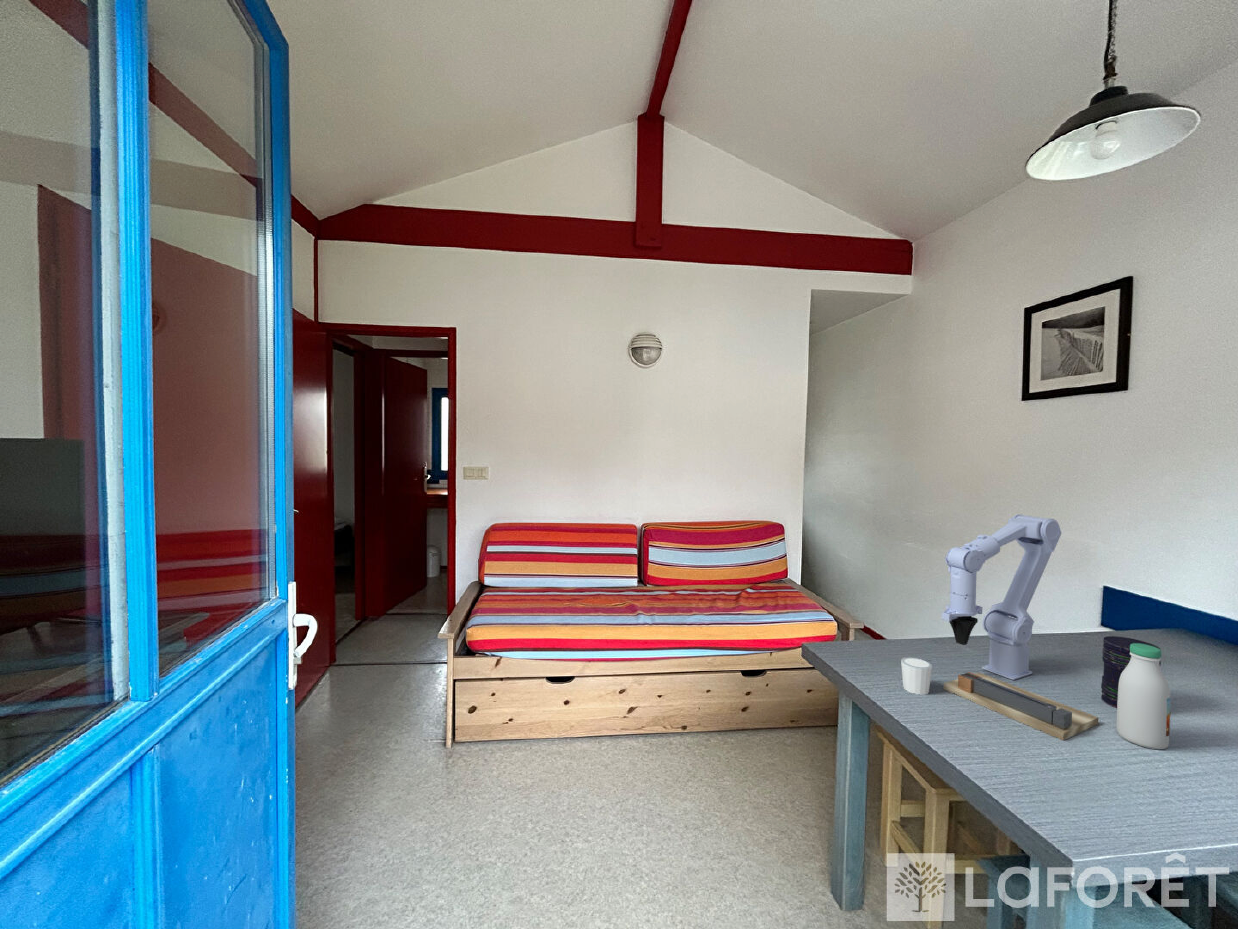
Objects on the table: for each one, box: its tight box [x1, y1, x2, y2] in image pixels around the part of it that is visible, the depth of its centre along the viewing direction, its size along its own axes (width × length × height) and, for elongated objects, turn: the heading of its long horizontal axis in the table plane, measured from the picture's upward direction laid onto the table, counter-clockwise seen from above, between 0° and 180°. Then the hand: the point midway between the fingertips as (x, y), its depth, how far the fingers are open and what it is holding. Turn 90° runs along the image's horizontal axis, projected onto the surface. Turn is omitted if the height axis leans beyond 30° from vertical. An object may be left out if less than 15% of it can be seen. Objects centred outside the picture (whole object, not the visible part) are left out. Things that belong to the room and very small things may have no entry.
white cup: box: [900, 657, 933, 696], centre depth 129 cm, size 7×7×7 cm
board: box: [943, 671, 1099, 741], centre depth 121 cm, size 15×25×2 cm, turn 25°
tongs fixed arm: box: [957, 673, 1072, 729], centre depth 118 cm, size 4×21×3 cm, turn 25°
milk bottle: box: [1116, 643, 1171, 750], centre depth 107 cm, size 8×8×20 cm
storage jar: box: [1100, 635, 1162, 709], centre depth 121 cm, size 10×10×15 cm
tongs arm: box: [963, 671, 1057, 710], centre depth 120 cm, size 2×19×3 cm, turn 26°
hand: (961, 643), depth 135 cm, fingers closed
